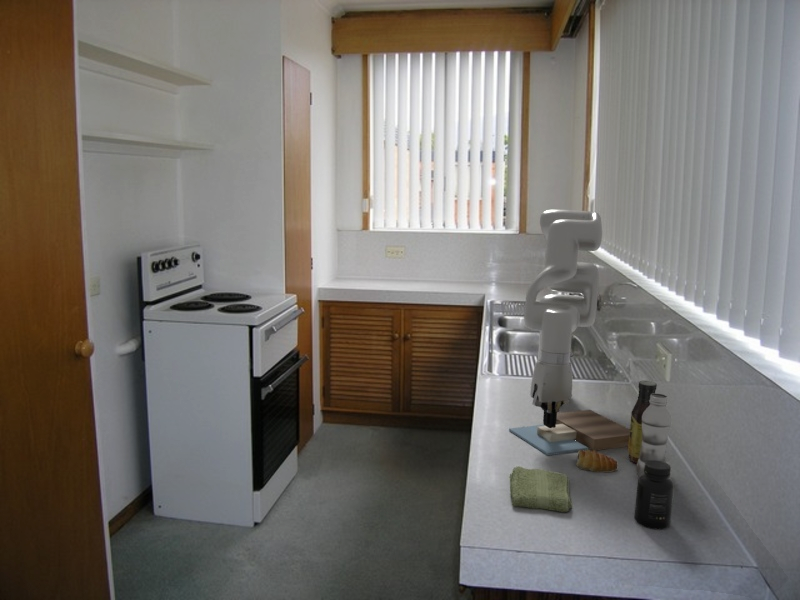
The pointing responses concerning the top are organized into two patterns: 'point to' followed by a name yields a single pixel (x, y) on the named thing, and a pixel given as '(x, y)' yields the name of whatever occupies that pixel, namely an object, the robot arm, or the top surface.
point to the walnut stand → (595, 429)
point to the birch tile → (556, 433)
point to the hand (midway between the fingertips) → (549, 426)
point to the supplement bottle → (654, 496)
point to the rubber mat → (546, 441)
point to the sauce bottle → (639, 418)
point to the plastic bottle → (654, 431)
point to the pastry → (595, 461)
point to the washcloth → (540, 489)
